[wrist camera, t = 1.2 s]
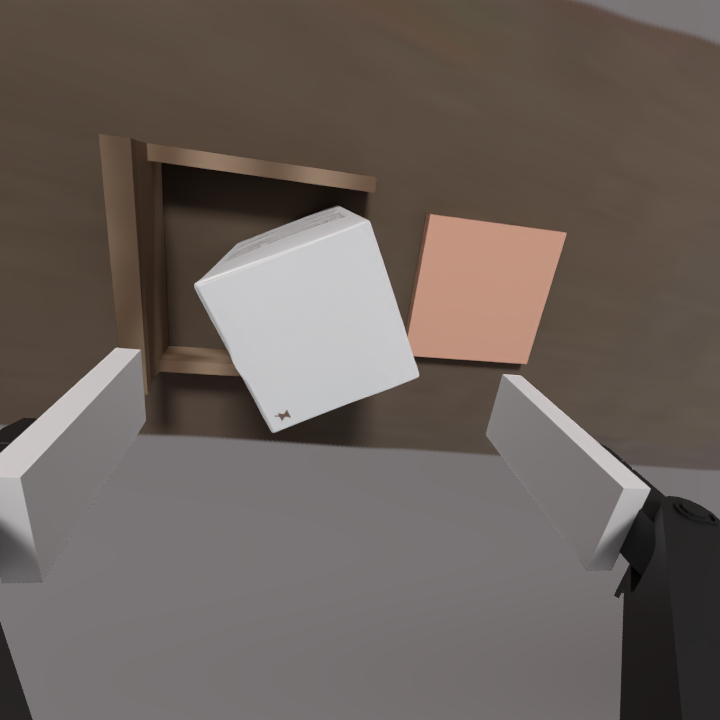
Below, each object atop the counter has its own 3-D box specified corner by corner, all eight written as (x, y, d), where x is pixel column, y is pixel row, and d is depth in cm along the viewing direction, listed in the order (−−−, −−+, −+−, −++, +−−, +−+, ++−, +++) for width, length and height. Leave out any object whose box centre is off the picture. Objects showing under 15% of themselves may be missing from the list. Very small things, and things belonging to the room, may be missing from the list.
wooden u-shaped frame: (153, 355, 35) (122, 393, 29) (140, 143, 29) (98, 133, 23) (345, 367, 38) (354, 404, 32) (369, 177, 32) (387, 176, 26)
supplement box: (376, 306, 36) (425, 382, 23) (279, 343, 36) (270, 441, 23) (340, 200, 32) (374, 215, 19) (232, 241, 32) (187, 285, 19)
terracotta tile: (401, 351, 38) (404, 355, 37) (426, 213, 34) (430, 214, 33) (521, 359, 40) (526, 364, 39) (559, 231, 36) (566, 232, 35)
